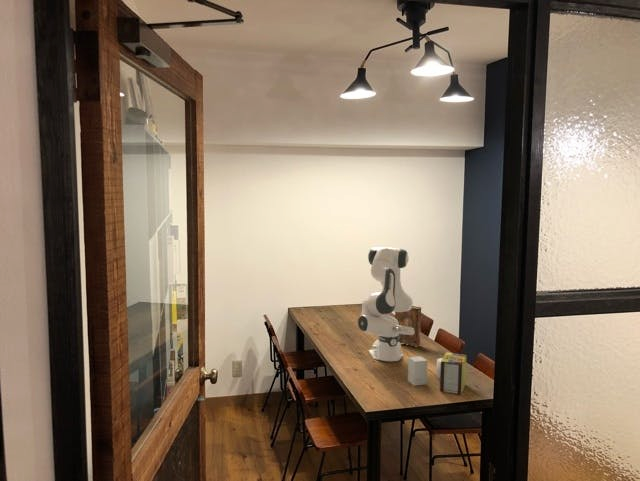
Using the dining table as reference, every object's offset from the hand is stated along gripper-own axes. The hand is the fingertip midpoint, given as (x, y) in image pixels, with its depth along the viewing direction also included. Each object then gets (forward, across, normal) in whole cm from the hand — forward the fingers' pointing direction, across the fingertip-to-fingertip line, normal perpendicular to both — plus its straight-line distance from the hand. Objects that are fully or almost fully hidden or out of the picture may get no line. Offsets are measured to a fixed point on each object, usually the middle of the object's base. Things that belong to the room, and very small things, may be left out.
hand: (406, 331), depth 245 cm
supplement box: (+14, +3, +25) cm, 29 cm away
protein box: (+25, -12, +24) cm, 36 cm away
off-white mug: (+32, 0, +20) cm, 37 cm away
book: (+53, +52, +5) cm, 74 cm away
